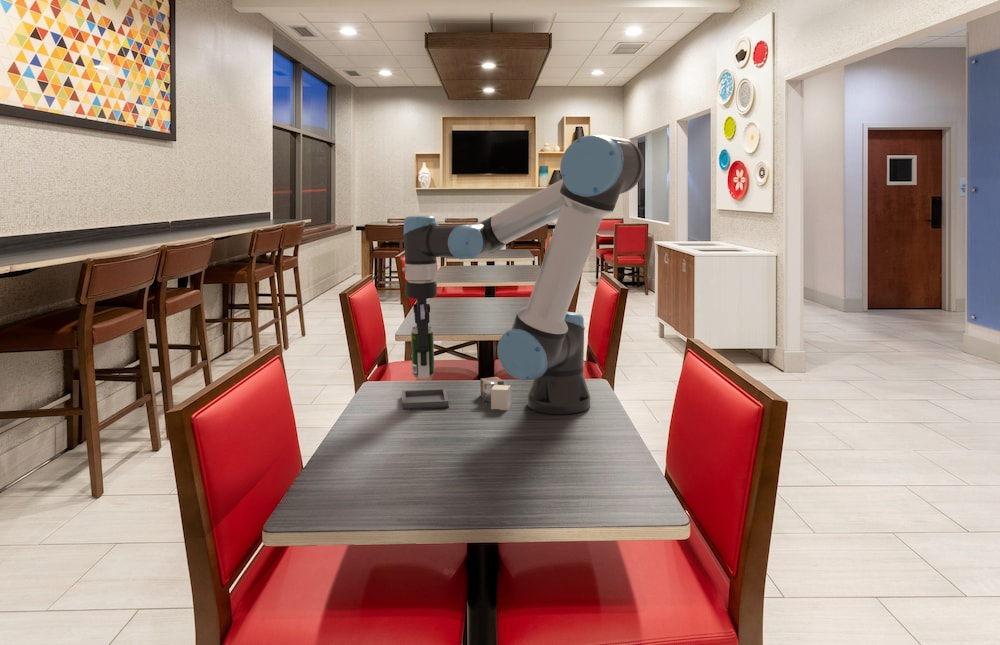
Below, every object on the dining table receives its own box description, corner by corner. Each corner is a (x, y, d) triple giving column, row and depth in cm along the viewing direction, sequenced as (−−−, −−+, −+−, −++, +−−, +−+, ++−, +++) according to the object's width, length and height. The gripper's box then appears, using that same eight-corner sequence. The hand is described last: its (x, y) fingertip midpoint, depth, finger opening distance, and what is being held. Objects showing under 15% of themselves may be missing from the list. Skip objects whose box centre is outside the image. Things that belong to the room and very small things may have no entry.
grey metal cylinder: (496, 399, 176) (496, 380, 175) (498, 404, 172) (498, 384, 171) (482, 400, 175) (482, 381, 174) (484, 404, 172) (483, 384, 171)
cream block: (510, 405, 171) (510, 385, 170) (507, 410, 167) (507, 390, 167) (494, 404, 172) (494, 384, 171) (491, 409, 168) (490, 389, 167)
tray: (445, 394, 181) (445, 388, 180) (448, 407, 170) (448, 400, 170) (402, 396, 179) (402, 390, 179) (402, 409, 169) (402, 403, 168)
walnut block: (496, 393, 181) (496, 376, 180) (503, 398, 177) (503, 381, 176) (480, 395, 180) (480, 378, 179) (487, 400, 176) (487, 383, 175)
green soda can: (421, 379, 170) (420, 330, 167) (408, 375, 174) (406, 327, 171) (438, 375, 173) (437, 327, 171) (425, 371, 177) (424, 324, 175)
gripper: (404, 276, 177) (407, 365, 182) (405, 286, 160) (408, 385, 164) (434, 275, 178) (436, 364, 183) (438, 285, 161) (440, 384, 165)
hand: (423, 374), depth 173 cm, fingers closed on green soda can, 5 cm apart
